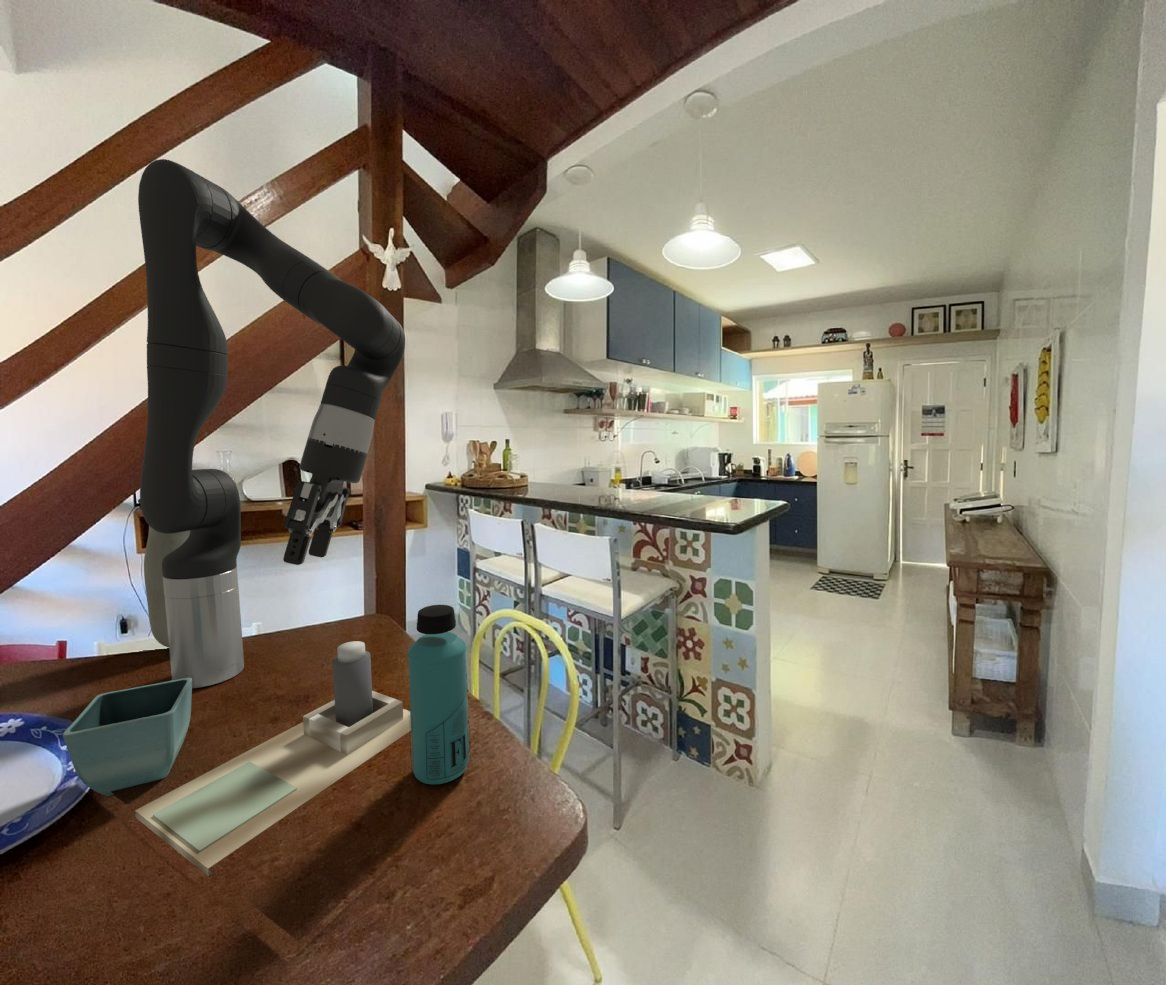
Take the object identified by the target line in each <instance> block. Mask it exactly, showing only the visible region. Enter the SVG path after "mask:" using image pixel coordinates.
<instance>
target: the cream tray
mask: <svg viewBox="0 0 1166 985" xmlns="http://www.w3.org/2000/svg"><path fill="white" fill-rule="evenodd" d="M372 703H373V713H372V714H371V715H369V716H367V717H366V718H364V719H362V720H361V721H359V722H357V723H355V724H354V725H352V726H350V727H347V726H345V725H342V724H340V723H338V722H336V717H335V699H333V700H330V702H328V703H325V704H324V705H322V706H320V707H318V708H316V709H314V710H312V711H310V712H308V713H307V714H304V715H302V722H301V723H298V724H297V725H294V726H292V727H291V728H289V729H286V730H285V731H282V732H281V733H278V734H277V735H275V736H273V737H272V738H269V739H268V740H266V741H264V742H262V743H260V744H258V745H257V746H255V747H252V748H250V749H249V750H248V751H247V750H246V751H244V752H243V753H241V754H239V755H237V756H236V757H234V758H231V759H229V760H228V761H226V762H224V763H222V764H220V765H219V766H216V767H214V768H212V769H211V770H209V771H207V772H205V773H204V774H201V775H199V776H198V777H196V778H194V779H192V780H190V781H189V782H186V783H184V784H182V785H180V786H179V787H177V788H175V789H173V790H171V791H169V792H168V793H165V794H164V795H161V796H160V797H157V798H156V799H154V800H151V801H150V802H148V803H147V804H145V805H143V806H141V807H139V808H137V809H134V814H135V815H134V816H135V818H136V819H137V820H138V821H139V822H140V823H142V824H143V825H144V826H146V827H147V828H148V829H149V830H151V832H153V834H155V835H156V836H158V837H159V838H160V839H161V840H163V841H164V842H165V843H166V844H168V845H169V846H170V847H172V849H174V850H175V851H176V852H177V853H179V854H180V855H181V856H182V857H184V858H185V859H186V860H187V861H188V862H190V863H191V864H192V865H193V866H195V867H196V868H197V869H198V870H199V871H201V872H202V873H203V874H205V875H206V876H207V877H211V876H212V875H213V874H214V873H213V871H212V870H210V869H211V867H212V868H213V866H215V865H217V863H219V862H220V861H222V860H223V859H225V858H226V857H227V856H229V855H231V854H232V853H234V852H236V851H237V850H238V849H239V848H241V847H242V846H244V845H245V844H247V843H248V842H250V841H251V840H252V839H254V838H256V837H257V836H258V835H260V834H261V833H263V832H265V831H266V830H268V829H269V828H270V827H272V826H273V825H274V824H276V823H278V822H279V821H280V820H282V819H284V817H287V816H288V815H289V814H290V813H292V812H294V811H295V810H296V809H298V808H300V807H301V806H303V805H304V804H306V803H307V802H308V801H310V800H312V799H313V798H314V797H316V796H317V795H318V794H320V793H323V791H324V790H326V789H328V788H329V787H331V786H332V785H334V784H335V783H336V782H338V781H339V780H340V779H342V778H343V777H346V775H348V774H350V773H351V772H352V771H355V769H357V768H358V767H359V766H361V765H363V764H364V763H366V762H367V761H368V760H370V759H371V758H374V756H376V755H377V754H379V753H380V752H382V751H384V750H385V749H386V748H387V747H389V746H390V745H392V744H394V743H395V742H397V741H398V740H400V739H401V738H402V737H404V736H406V735H407V734H409V731H410V732H411V723H410V721H409V720H410V710H409V709H408V710H407V709H405V708H404V704H403V703H404V702H403V701H401V700H399V699H397V698H394V697H390V696H388V695H385V694H383V693H380V692H377V691H375V690H372ZM409 723H410V725H409ZM409 726H410V727H409ZM409 729H410V730H409Z"/></svg>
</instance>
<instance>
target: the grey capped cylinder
mask: <svg viewBox="0 0 1166 985" xmlns="http://www.w3.org/2000/svg"><path fill="white" fill-rule="evenodd" d="M336 650H337V655H336V656H334V657H333V659H332V675H333V693H334V700H335V717H336V722H338V723H340V724H342V725H345V726H347V727H350V726H352V725H354V724H355V723H357V722H359V721H361V720H362V719H364V718H366V717H367V716H369V715H371V714H372V713H373V703H372V691H373V684H372V683H373V680H372V660H371V652H369V651H367V650H366V644H365V642H364V641H359V640H358V641H357V640H356V641H355V640H353V641H352V640H351V641H348V642H344V643H342V644H340V645H338V646H337V649H336Z"/></svg>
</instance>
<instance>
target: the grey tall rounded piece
mask: <svg viewBox="0 0 1166 985" xmlns="http://www.w3.org/2000/svg"><path fill="white" fill-rule="evenodd" d="M189 535H190V531H184V532H178V533H169V534H165V533H160V532H157V531H155V530H154V529H152V528H151V527H150V526H149V525H148V536H147V541H146V547H145V551H144V556H143V576H144V577H143V579H144V587H145V594H146V601H147V610H148V611H147V612H148V619H149V627H150V630H151V633H152V636H153V637H154V639H155V640H156V641H157V642H158V644H160V645H161V646H162V647H166V648H169V639H168V628H167V617H166V606H165V595H164V586H163V575H162V560H163V559H164V557H165V556H166V555H168V554H169V553H171V552H173V551H174V550H176V549H177V548H178V547H180V546H181V545H182V544H183V543H184V542H185V541H186V540H187V539H188V537H189Z"/></svg>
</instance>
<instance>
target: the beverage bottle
mask: <svg viewBox="0 0 1166 985" xmlns="http://www.w3.org/2000/svg"><path fill="white" fill-rule="evenodd" d="M455 614H456V613H455V610H454V607H453V606H451V605H448V604H433V605H432V604H431V605H428V606H424V607H422V608H420V609H419V610H417V619H416V620H417V621H416V631H417V632H418V633H420V634H423V635H421V636H420V637H418V639H416V640H415V641H414V642H412V643H413V644H411V646H410V647H409V648H408V650H407V658H408V678H409V681H408V682H409V700H410V701H409V711H410V720H409V721H410V723H411V731H409V732H408V734H410V745H409V752H410V753H409V754H410V759H411V760H410V763H411V764H410V767H411V769H412V773H413V775H414V776H415V778H416V779H417V780H418V781H419V782H421V783H423V784H425V785H426V784H427V785H441V784H446V783H449V782H452V781H454V780H456V779H457V778H459V777H460V776H462V774H464V772H466V770H467V768H468V765H469V762H470V758H471V754H470V753H471V748H470V747H471V737H470V736H471V735H470V734H471V731H469V730H471V729H470V728H471V727H470V725H469V724H470V716H469V711H470V710H469V705H468V703H469V701H468V699H469V698H468V693H469V691H470V690H469V689H468V688H469V687H468V672H467V652H466V651H467V643H466V642H465V640H463V639H462V638H461V637H460V636H458V635H457V634H456V633H454V632H452V631H453V630H454V629H455V628H456V626H457V622H456V621H457V620H456V615H455ZM410 723H409V725H410ZM409 727H410V726H409ZM409 730H410V729H409Z"/></svg>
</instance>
